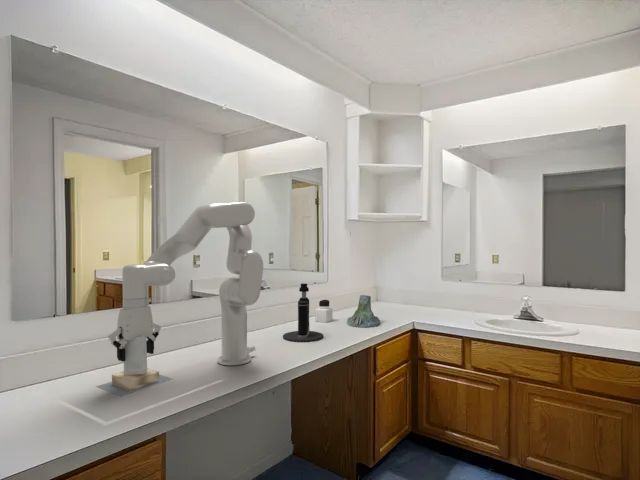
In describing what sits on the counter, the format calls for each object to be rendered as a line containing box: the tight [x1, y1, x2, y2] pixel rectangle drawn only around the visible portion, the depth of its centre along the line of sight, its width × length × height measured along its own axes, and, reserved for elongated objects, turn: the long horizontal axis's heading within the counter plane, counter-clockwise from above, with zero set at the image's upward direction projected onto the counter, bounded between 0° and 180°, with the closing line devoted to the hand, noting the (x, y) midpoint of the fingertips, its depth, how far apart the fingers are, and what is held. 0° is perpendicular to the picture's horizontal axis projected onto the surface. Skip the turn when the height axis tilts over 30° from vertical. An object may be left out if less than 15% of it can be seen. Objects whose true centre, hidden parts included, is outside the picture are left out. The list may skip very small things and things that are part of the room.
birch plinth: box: [111, 367, 160, 390], centre depth 132 cm, size 10×10×3 cm
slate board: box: [95, 373, 174, 397], centre depth 132 cm, size 18×14×1 cm
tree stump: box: [346, 294, 381, 329], centre depth 227 cm, size 18×20×18 cm
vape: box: [282, 283, 324, 343], centre depth 195 cm, size 19×19×25 cm
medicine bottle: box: [315, 299, 333, 324], centre depth 233 cm, size 7×7×12 cm
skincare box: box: [123, 335, 148, 375], centre depth 131 cm, size 6×4×12 cm
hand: (136, 356), depth 132 cm, fingers open, 9 cm apart
